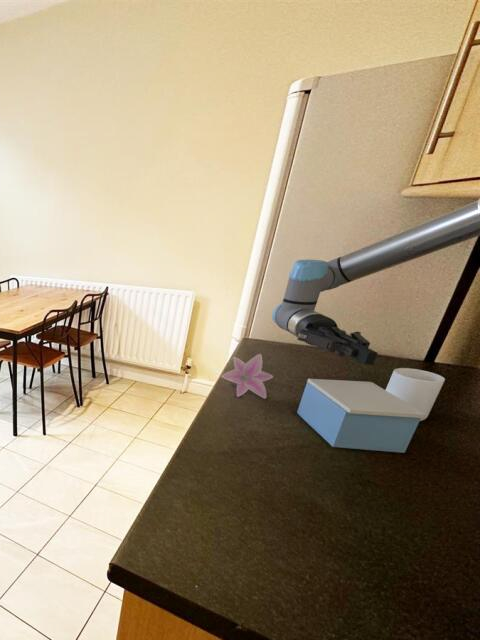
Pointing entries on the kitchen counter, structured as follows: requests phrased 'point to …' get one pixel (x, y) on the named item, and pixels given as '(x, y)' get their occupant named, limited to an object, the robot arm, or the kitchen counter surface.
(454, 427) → the kitchen counter surface
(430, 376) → the cup
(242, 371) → the lily
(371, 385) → the case lid
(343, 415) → the case
